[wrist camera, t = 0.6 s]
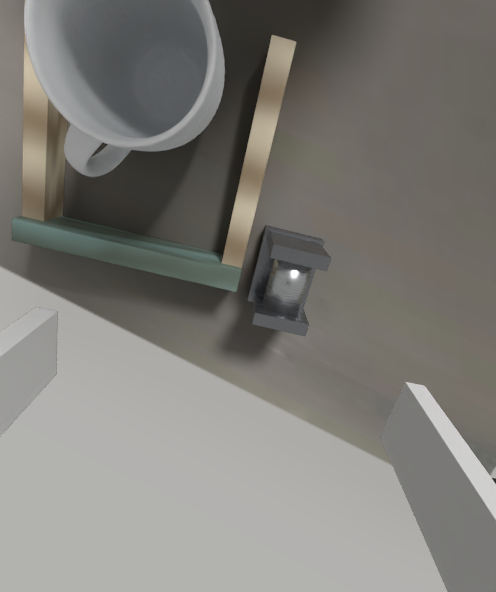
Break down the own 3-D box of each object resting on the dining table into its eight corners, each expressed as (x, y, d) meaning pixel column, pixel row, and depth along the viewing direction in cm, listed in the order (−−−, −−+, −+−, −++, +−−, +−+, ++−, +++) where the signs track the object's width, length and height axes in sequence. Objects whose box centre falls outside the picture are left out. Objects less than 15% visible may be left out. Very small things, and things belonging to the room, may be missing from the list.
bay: (50, -14, 30) (12, -47, 25) (292, 54, 31) (298, 35, 26) (42, 230, 37) (11, 240, 32) (238, 276, 38) (236, 291, 34)
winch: (265, 225, 36) (268, 240, 29) (321, 238, 37) (337, 257, 30) (247, 296, 39) (246, 325, 32) (299, 307, 40) (309, 339, 33)
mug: (158, 208, 36) (110, 232, 24) (65, 130, 34) (-43, 112, 21) (256, 80, 32) (258, 31, 20) (157, -19, 29) (89, -147, 17)
